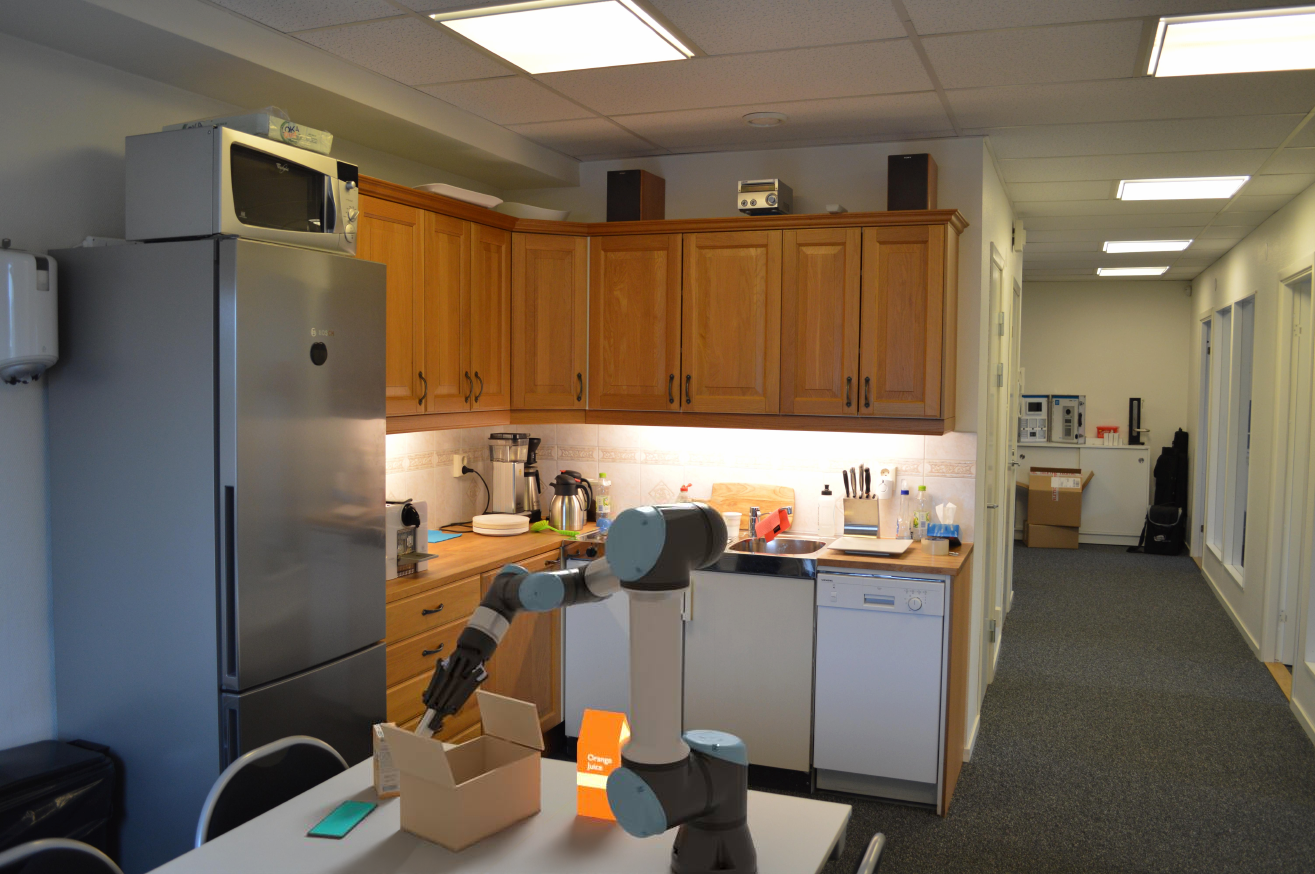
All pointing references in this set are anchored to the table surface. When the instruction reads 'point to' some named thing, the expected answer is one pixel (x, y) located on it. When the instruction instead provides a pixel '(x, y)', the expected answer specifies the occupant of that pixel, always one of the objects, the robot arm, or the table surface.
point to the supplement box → (384, 766)
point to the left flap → (418, 755)
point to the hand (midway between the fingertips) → (416, 744)
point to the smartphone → (343, 819)
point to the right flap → (510, 719)
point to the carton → (473, 793)
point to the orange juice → (598, 759)
